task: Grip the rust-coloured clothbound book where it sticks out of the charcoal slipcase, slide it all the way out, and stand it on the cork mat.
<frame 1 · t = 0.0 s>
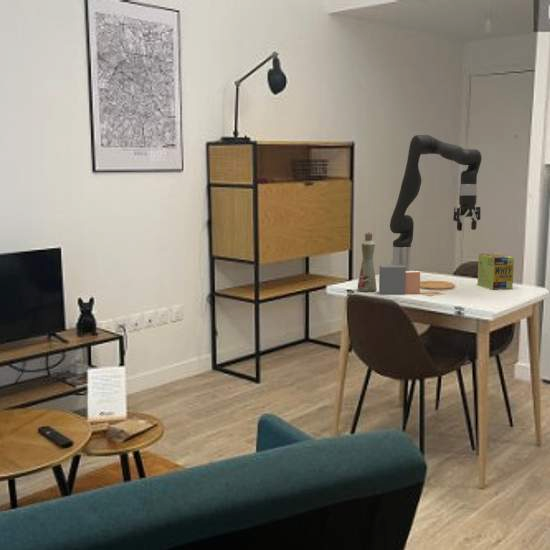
hand: (466, 230, 307), 29 cm above the table, tool pointing down, fingers open, 8 cm apart
book: (403, 293, 311), on the table, touching mat
slipcase: (391, 293, 311), on the table
bottle: (367, 291, 318), on the table
mat: (430, 293, 311), on the table
protein box: (494, 287, 328), on the table
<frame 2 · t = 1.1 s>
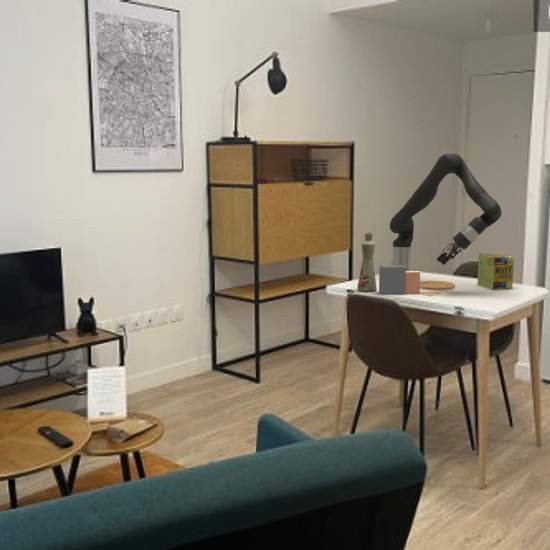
hand: (439, 262, 309), 15 cm above the table, tool tilted 45°, fingers open, 8 cm apart
nothing on the table moved.
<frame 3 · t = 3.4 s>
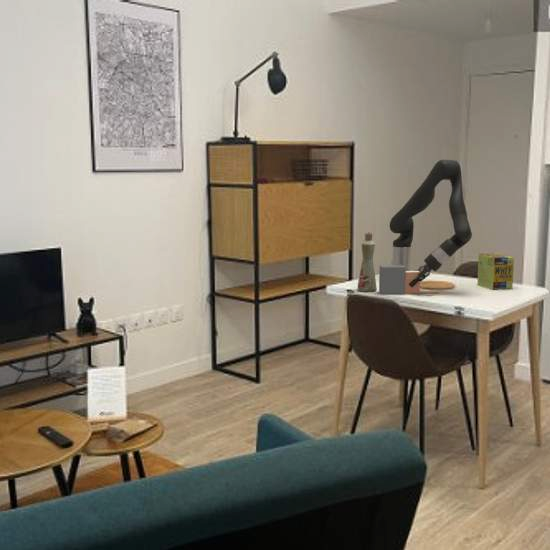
hand: (409, 285, 311), 4 cm above the table, tool tilted 45°, fingers closed on book, 3 cm apart
book: (403, 293, 311), on the table, touching gripper, mat
everything else where it was.
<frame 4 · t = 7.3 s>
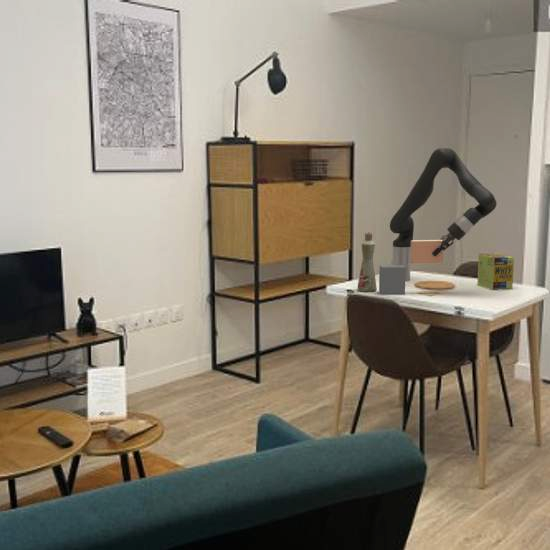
hand: (432, 254, 308), 18 cm above the table, tool tilted 45°, fingers closed on book, 3 cm apart
book: (426, 262, 309), point 15 cm above the table, touching gripper
everything else where it was.
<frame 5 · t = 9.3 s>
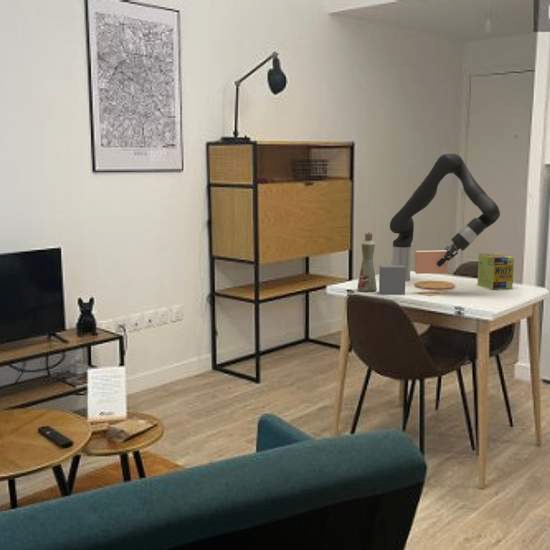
hand: (437, 264, 309), 14 cm above the table, tool tilted 45°, fingers closed on book, 3 cm apart
book: (431, 272, 309), point 10 cm above the table, touching gripper
everything else where it was.
when the fingers open (5 cm above the table, at t = 11.1 s): book drops 1 cm, resting on mat.
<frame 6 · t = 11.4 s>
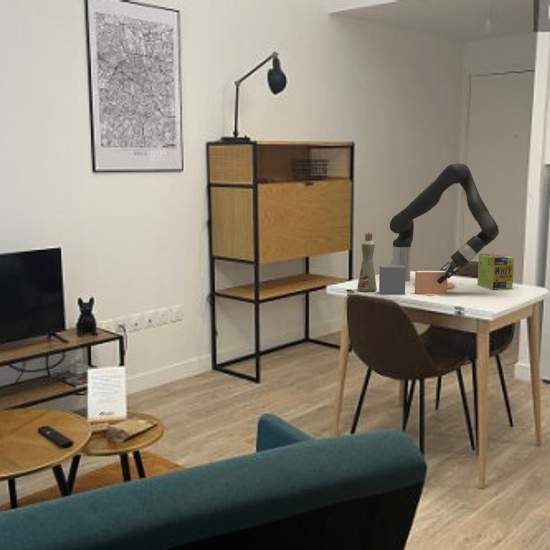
hand: (436, 281, 310), 6 cm above the table, tool tilted 45°, fingers open, 6 cm apart
book: (430, 293, 311), resting on mat
everything else where it was.
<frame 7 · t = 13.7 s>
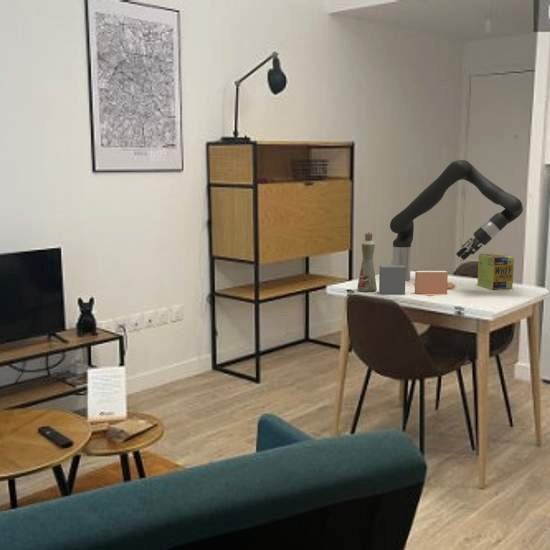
hand: (459, 257, 309), 17 cm above the table, tool tilted 45°, fingers open, 8 cm apart
nothing on the table moved.
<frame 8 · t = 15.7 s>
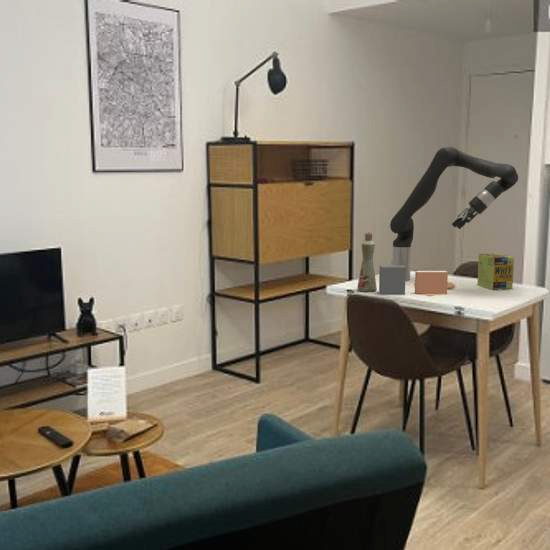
hand: (455, 226, 308), 31 cm above the table, tool tilted 45°, fingers open, 8 cm apart
nothing on the table moved.
at the end: book inside the target area on the mat (0.3 cm from its centre), point 0.4 cm above the mat's base; book touching mat; the gripper is holding nothing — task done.
